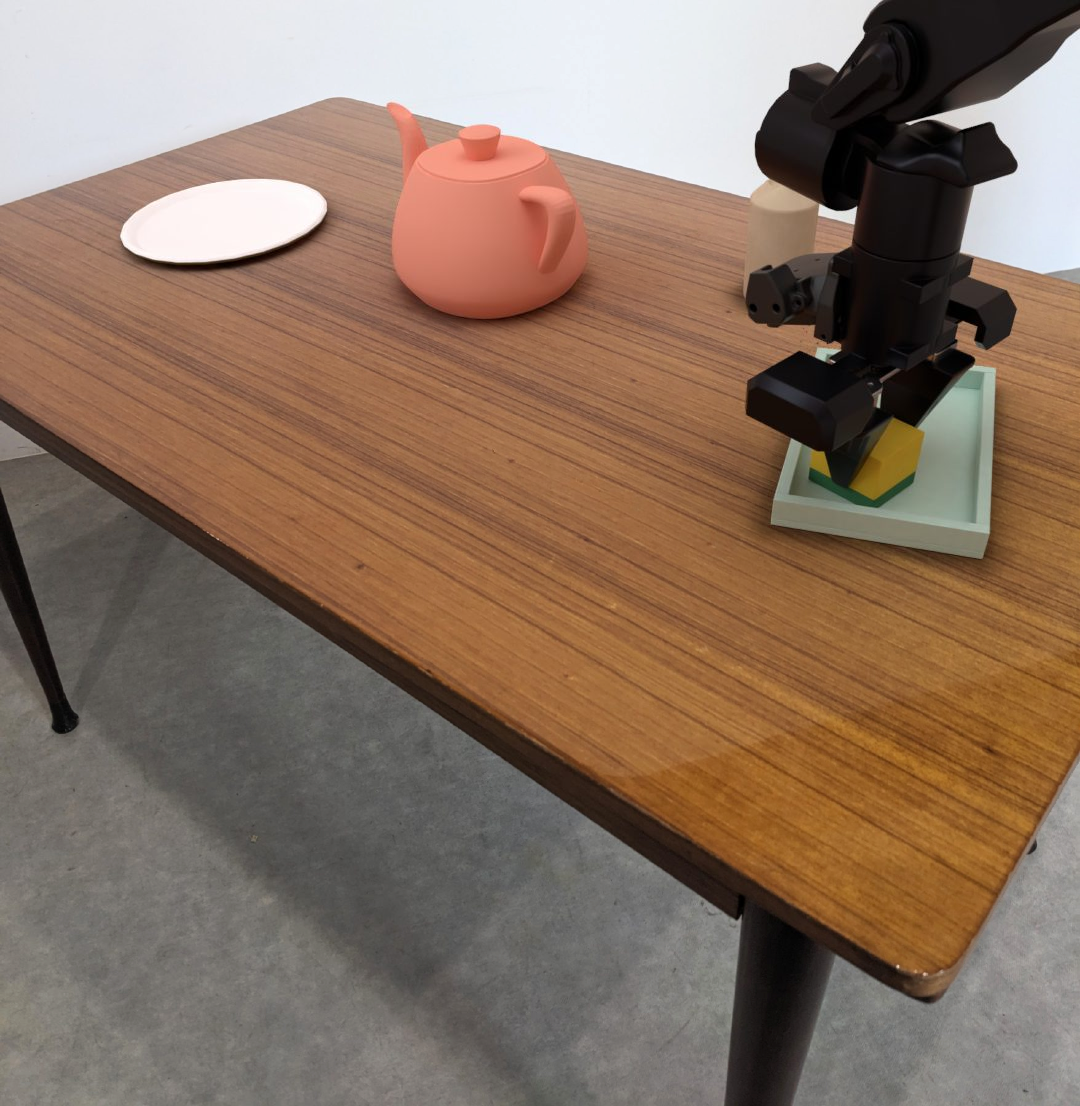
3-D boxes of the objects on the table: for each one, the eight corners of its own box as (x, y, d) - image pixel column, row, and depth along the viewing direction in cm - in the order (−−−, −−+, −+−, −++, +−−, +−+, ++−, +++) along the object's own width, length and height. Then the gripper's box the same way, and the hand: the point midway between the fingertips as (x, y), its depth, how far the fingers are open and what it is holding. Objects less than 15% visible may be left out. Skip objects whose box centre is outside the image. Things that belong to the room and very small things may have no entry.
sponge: (913, 483, 68) (925, 431, 65) (871, 513, 66) (881, 461, 63) (849, 451, 71) (858, 400, 68) (807, 479, 69) (814, 428, 66)
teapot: (336, 264, 99) (309, 118, 91) (478, 213, 107) (465, 74, 98) (496, 359, 84) (481, 195, 75) (649, 291, 92) (651, 135, 83)
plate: (84, 237, 108) (80, 226, 107) (250, 175, 119) (248, 163, 118) (198, 292, 96) (195, 279, 96) (370, 217, 108) (368, 205, 107)
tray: (982, 559, 63) (989, 533, 61) (770, 524, 66) (773, 499, 65) (990, 391, 77) (996, 367, 75) (814, 370, 80) (817, 346, 79)
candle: (813, 308, 88) (828, 190, 81) (747, 311, 88) (756, 193, 81) (802, 279, 92) (815, 164, 85) (738, 281, 92) (747, 168, 86)
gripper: (885, 155, 67) (850, 369, 77) (680, 249, 58) (671, 476, 68) (1050, 203, 60) (987, 430, 70) (846, 318, 51) (809, 558, 61)
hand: (863, 469), depth 68 cm, fingers closed on sponge, 4 cm apart
